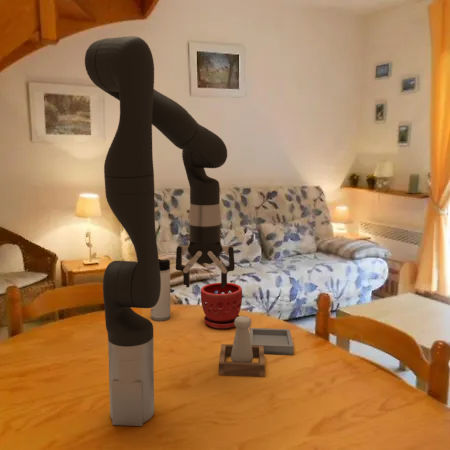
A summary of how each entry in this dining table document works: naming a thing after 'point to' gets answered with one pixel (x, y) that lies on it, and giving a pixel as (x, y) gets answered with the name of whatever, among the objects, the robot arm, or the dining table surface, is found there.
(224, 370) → the rectangular frame
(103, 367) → the dining table surface
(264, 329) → the tray
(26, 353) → the dining table surface
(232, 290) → the plant pot
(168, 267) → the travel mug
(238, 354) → the salt shaker
